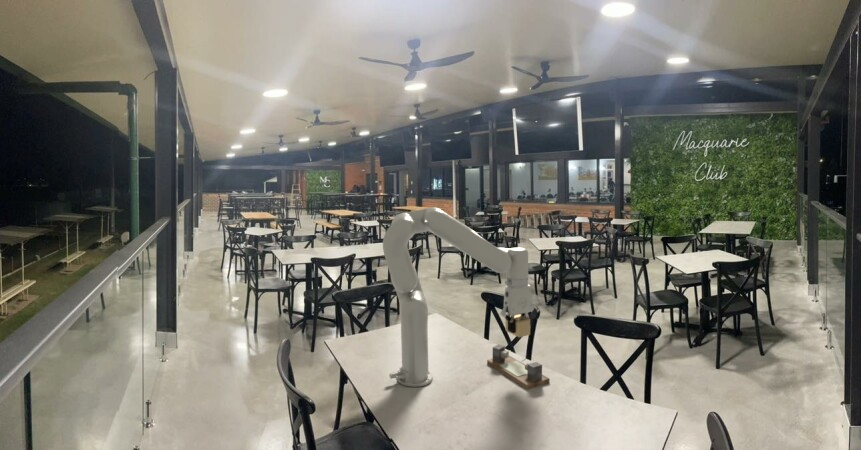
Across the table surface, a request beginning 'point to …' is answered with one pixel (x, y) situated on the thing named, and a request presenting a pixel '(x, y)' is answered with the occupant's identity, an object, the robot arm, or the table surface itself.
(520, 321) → the gold rectangular block
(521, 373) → the shaft rig
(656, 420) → the table surface
